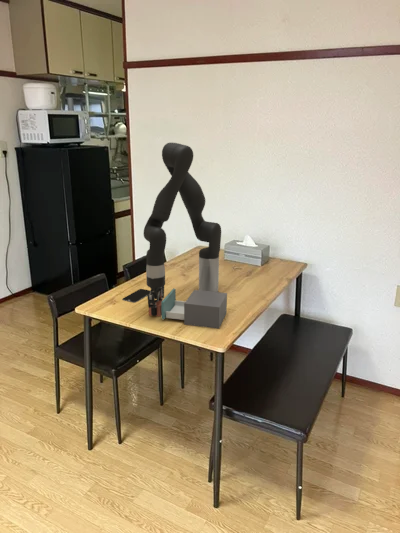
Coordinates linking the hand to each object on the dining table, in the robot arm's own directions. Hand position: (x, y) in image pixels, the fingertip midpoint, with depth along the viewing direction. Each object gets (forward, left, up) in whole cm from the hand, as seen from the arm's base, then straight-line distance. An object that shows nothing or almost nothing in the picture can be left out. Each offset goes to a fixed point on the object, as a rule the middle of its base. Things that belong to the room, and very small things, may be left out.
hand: (156, 312), depth 180 cm
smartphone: (-16, -15, -1) cm, 22 cm away
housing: (0, +21, -1) cm, 21 cm away
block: (0, 0, -1) cm, 1 cm away
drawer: (-1, +11, +1) cm, 11 cm away
